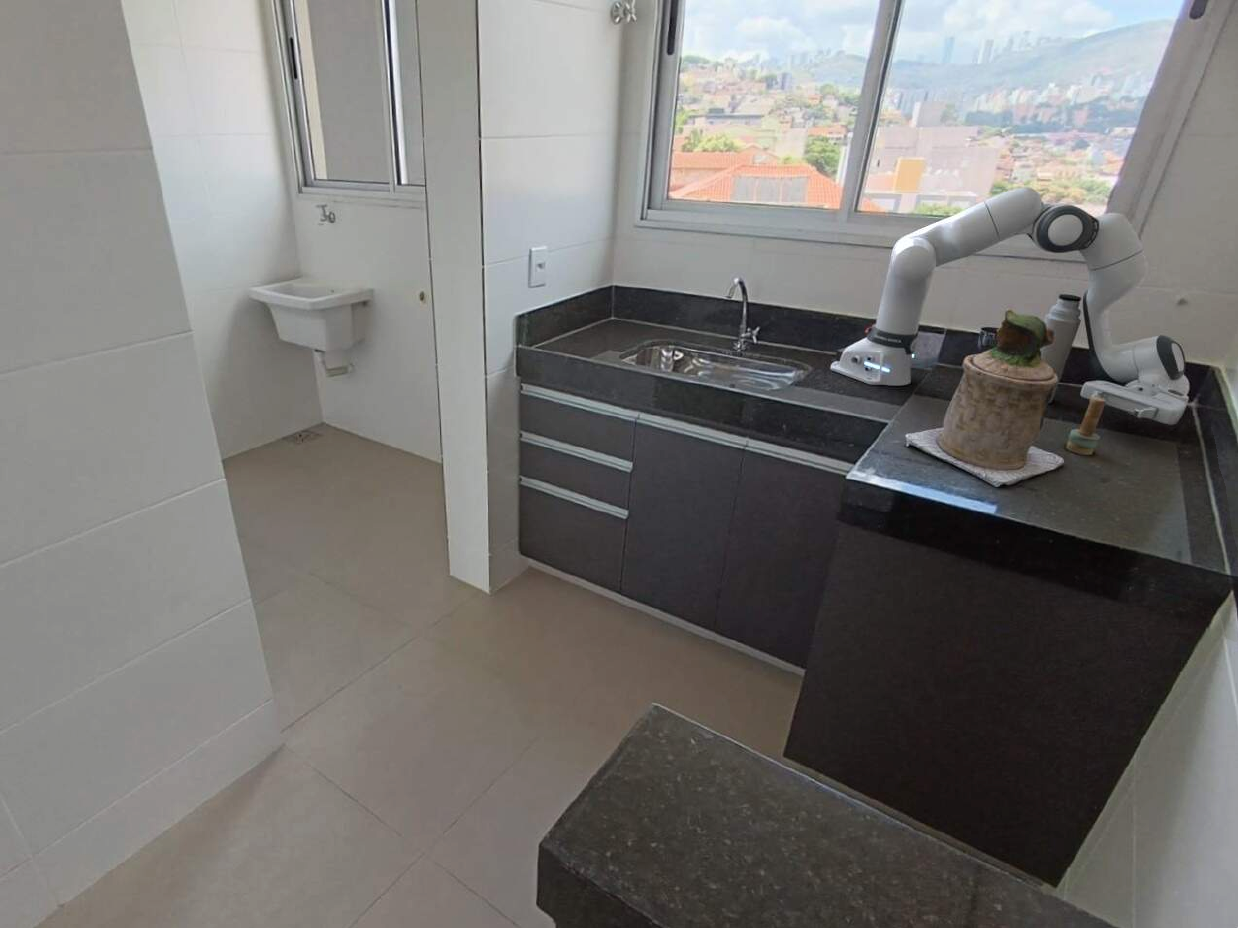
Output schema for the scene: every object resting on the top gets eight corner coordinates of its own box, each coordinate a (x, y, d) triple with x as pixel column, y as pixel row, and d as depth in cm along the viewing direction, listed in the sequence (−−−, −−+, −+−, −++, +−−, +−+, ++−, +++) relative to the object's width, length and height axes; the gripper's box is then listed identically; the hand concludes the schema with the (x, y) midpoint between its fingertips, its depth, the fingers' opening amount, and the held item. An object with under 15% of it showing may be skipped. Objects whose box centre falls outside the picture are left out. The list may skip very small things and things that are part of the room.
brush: (1062, 449, 155) (1081, 398, 149) (1068, 442, 158) (1087, 392, 153) (1090, 457, 151) (1111, 405, 146) (1095, 450, 155) (1116, 399, 149)
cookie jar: (1002, 491, 135) (1057, 335, 120) (898, 444, 153) (935, 303, 138) (1066, 466, 147) (1123, 321, 132) (963, 425, 165) (1003, 293, 151)
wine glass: (959, 378, 197) (974, 328, 190) (979, 376, 200) (994, 326, 193) (982, 387, 191) (998, 335, 184) (1002, 385, 194) (1018, 334, 187)
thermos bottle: (1045, 394, 188) (1081, 293, 175) (1056, 405, 181) (1094, 300, 168) (1015, 391, 189) (1048, 291, 176) (1024, 401, 182) (1059, 297, 169)
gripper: (1102, 371, 169) (1073, 379, 162) (1197, 399, 153) (1169, 408, 147) (1092, 395, 171) (1064, 403, 165) (1185, 424, 156) (1158, 435, 149)
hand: (1114, 406), depth 156 cm, fingers open, 8 cm apart
